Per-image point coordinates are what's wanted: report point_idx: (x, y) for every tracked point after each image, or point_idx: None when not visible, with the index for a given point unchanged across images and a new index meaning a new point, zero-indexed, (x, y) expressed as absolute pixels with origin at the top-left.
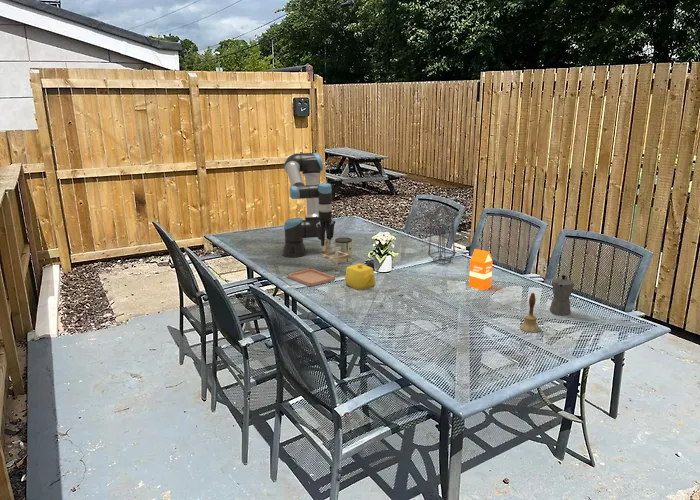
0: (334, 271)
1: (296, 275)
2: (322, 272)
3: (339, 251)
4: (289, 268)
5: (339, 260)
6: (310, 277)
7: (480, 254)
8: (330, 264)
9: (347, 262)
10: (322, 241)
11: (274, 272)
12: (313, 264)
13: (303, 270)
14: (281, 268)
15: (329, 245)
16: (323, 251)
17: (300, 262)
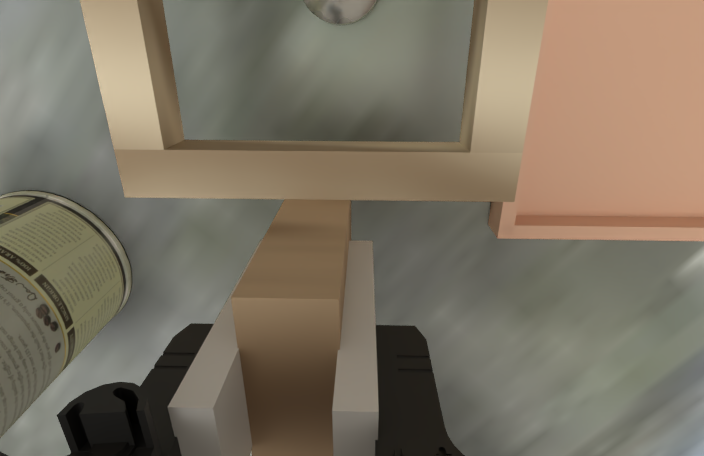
0: (353, 6)
1: (699, 206)
2: None
3: (111, 98)
4: (540, 396)
5: (103, 257)
6: (680, 46)
7: None
8: (210, 271)
9: (44, 196)
10: (441, 429)
11: (696, 395)
12: None
13: (605, 232)
14: (579, 429)
15: (264, 259)
16: None
17: None
